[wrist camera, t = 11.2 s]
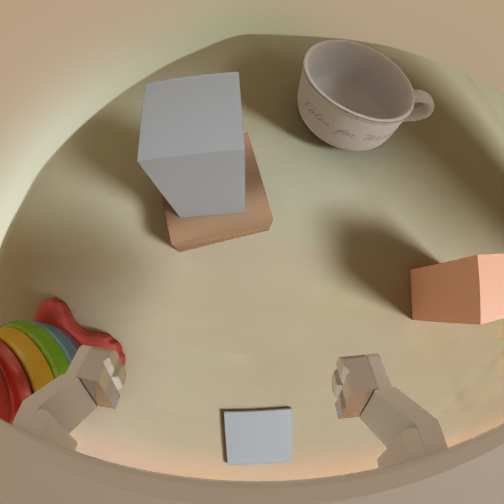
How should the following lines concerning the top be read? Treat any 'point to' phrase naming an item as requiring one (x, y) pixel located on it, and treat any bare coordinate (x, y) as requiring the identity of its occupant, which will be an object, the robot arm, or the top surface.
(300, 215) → the top surface
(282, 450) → the slate swatch
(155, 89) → the slate pillar
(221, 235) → the walnut block
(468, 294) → the terracotta pillar
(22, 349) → the stacking bear
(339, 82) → the teacup
